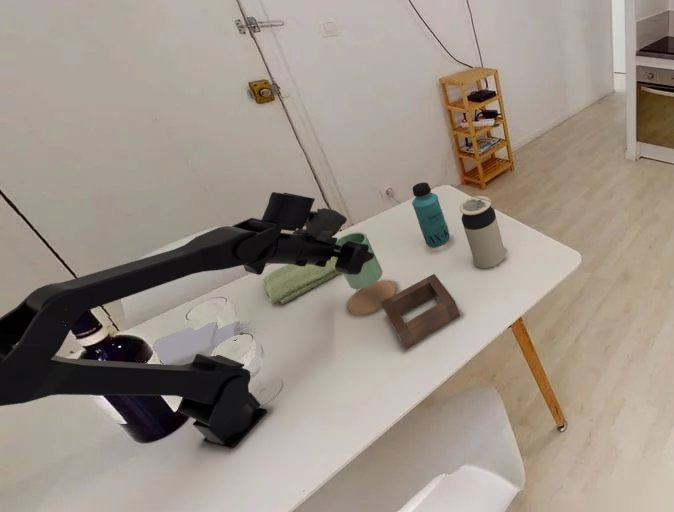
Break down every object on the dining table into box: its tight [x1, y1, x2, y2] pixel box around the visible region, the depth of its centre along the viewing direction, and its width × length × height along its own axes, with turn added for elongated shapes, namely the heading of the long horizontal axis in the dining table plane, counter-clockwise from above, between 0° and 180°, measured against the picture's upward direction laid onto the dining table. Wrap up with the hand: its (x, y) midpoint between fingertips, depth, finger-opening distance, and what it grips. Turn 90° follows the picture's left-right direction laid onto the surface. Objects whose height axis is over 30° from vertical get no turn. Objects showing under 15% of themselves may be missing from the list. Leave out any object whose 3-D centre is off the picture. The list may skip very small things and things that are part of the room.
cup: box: [334, 231, 384, 290], centre depth 93 cm, size 7×7×11 cm
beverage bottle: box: [411, 181, 451, 249], centre depth 111 cm, size 6×7×20 cm
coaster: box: [348, 280, 397, 316], centre depth 99 cm, size 10×10×1 cm
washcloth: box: [262, 257, 342, 305], centre depth 106 cm, size 13×18×3 cm
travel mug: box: [459, 195, 506, 269], centre depth 106 cm, size 8×8×18 cm
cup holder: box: [381, 273, 461, 350], centre depth 93 cm, size 12×12×5 cm
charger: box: [151, 320, 251, 365], centre depth 87 cm, size 5×9×15 cm
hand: (361, 253), depth 94 cm, fingers closed on cup, 7 cm apart
